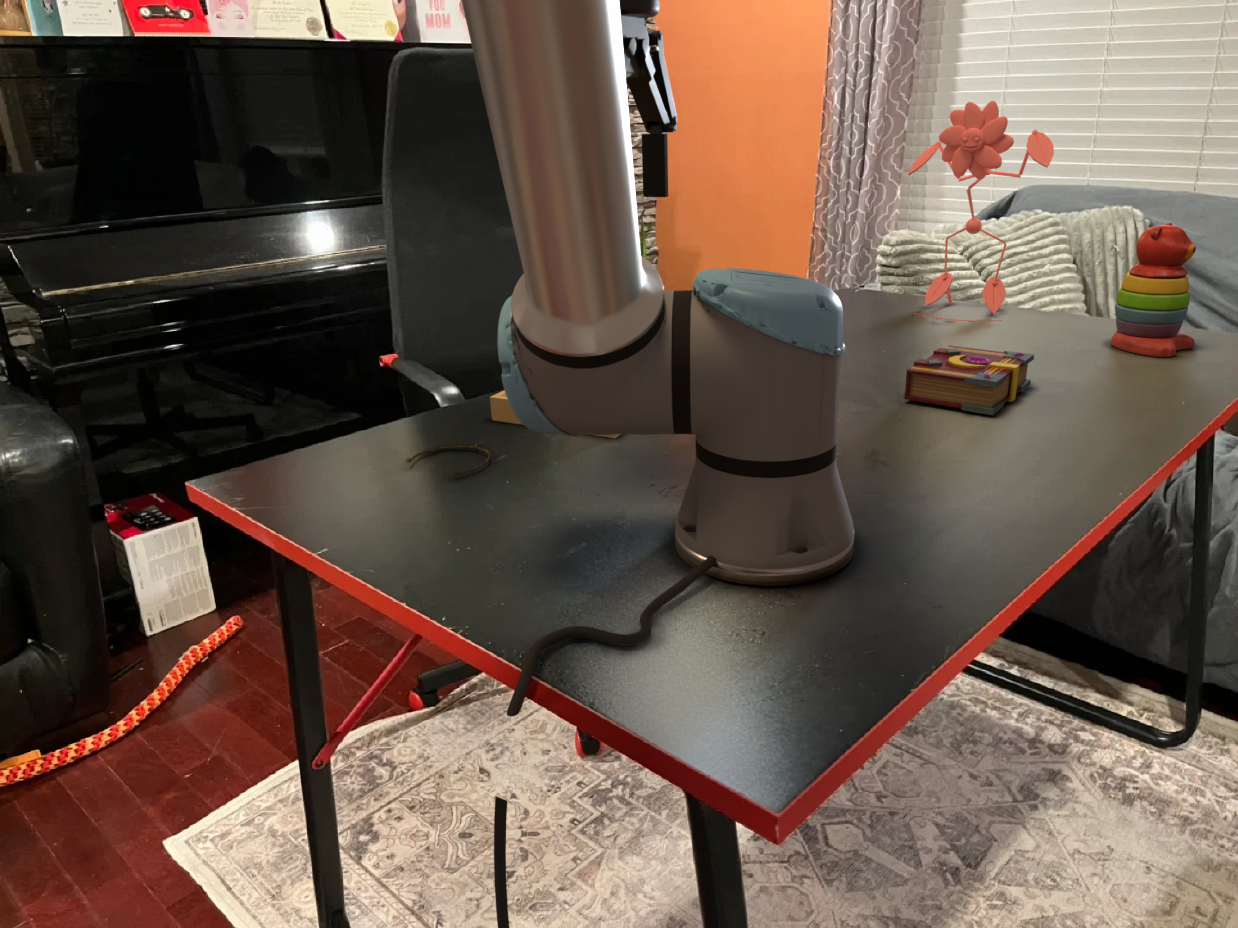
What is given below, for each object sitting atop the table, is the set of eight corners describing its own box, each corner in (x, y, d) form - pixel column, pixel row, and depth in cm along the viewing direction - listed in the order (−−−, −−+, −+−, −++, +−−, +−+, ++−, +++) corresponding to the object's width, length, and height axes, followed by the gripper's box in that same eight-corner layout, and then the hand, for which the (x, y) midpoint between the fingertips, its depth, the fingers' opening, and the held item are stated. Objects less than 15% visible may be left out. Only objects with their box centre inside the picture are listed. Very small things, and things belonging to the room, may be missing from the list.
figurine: (912, 297, 176) (928, 102, 163) (1046, 315, 158) (1076, 97, 145) (867, 310, 166) (880, 104, 153) (1004, 330, 148) (1032, 99, 135)
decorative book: (901, 402, 115) (904, 364, 113) (947, 373, 126) (951, 338, 125) (993, 418, 108) (998, 377, 106) (1033, 385, 120) (1038, 348, 118)
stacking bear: (1167, 359, 129) (1191, 231, 123) (1095, 347, 136) (1114, 225, 130) (1198, 346, 135) (1223, 223, 129) (1127, 335, 143) (1147, 218, 136)
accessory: (513, 452, 103) (512, 444, 102) (461, 479, 95) (460, 470, 95) (452, 441, 107) (451, 433, 107) (399, 466, 100) (398, 458, 99)
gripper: (587, -50, 74) (598, 217, 82) (707, -20, 95) (707, 192, 102) (511, -40, 78) (529, 215, 86) (643, -13, 98) (648, 191, 106)
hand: (626, 203), depth 94 cm, fingers open, 13 cm apart
